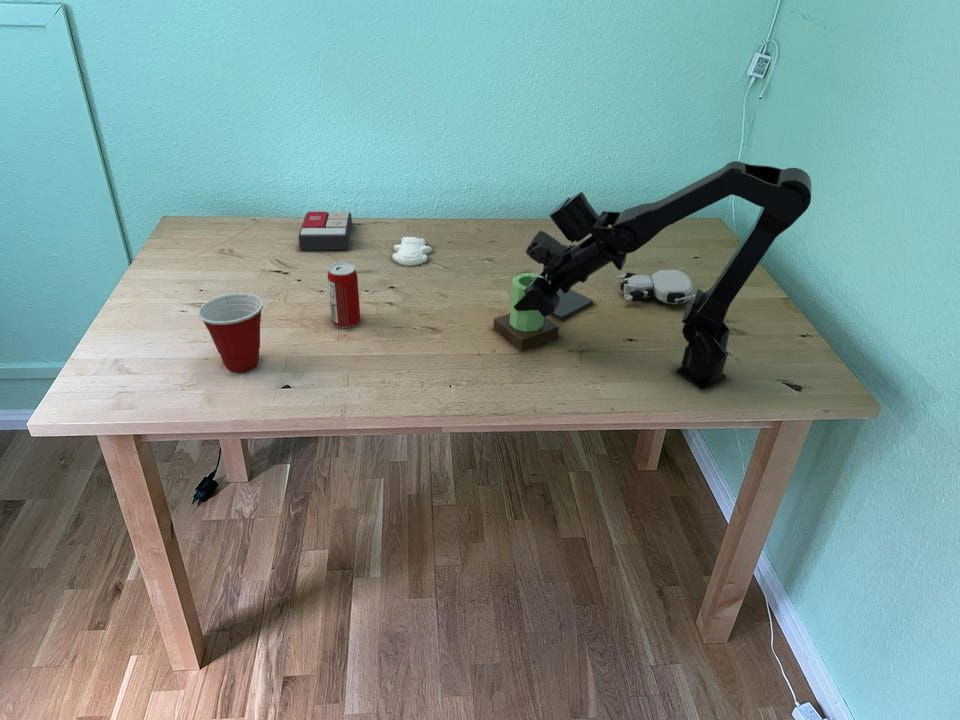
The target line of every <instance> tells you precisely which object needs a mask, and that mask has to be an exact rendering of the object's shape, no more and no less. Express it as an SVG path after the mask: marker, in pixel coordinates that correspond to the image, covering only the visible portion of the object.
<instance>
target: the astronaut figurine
mask: <svg viewBox="0 0 960 720" xmlns="http://www.w3.org/2000/svg"><path fill="white" fill-rule="evenodd" d="M400 239H401V241H400V243H399V244H395V245H393V249H394V253H393V254H392V257H391V258H392V260H393V261H394V262H396V263H398V264H399V265H402V266H407V267H413V266H419V265H421V264H424V263H427V261H428V256H427V255H428V254H430V253H431V252H432V251H433V248H432V247H431V246H430V245H426V239H424V238H423V237H420V238H419V237H415V236H404V237H402V238H400Z"/></svg>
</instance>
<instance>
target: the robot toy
mask: <svg viewBox="0 0 960 720" xmlns="http://www.w3.org/2000/svg"><path fill="white" fill-rule="evenodd" d="M684 270H685V267H681V268H678V269H659V270H658V271H656V272H654V273H653V274H652V276H649V275H644V274H637V273H633V272H626V273H625V272H621V273H619V274H618V276H617V277H618V279H620V280H623V281H622V282H621V284H620V285H619V288H620V291H621V292H622V293H623V294H624V295H623V300H625V301H626V302H638V301H641V300H643V299H644V298H645V299H646V298H650V297H653V296H654V298H656V299H658V301H660V302H662V303H664V304H670V305H678V304H684V303H686V302H688V301H689V300H690V299H694V297H695V294H693V287H694V285H693V281H692V280H691V278H690V277H689V275H687V274H686V273H685V272H683V271H684Z"/></svg>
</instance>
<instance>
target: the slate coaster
mask: <svg viewBox="0 0 960 720" xmlns="http://www.w3.org/2000/svg"><path fill="white" fill-rule="evenodd" d="M557 294H558V296H559V297H560V301H559V305H558V306H557V308H556V310H555V311H554V313H552V314H550V315H549V316H552V317H553V318H555V319H557V320H559V321H561V322H563V321H564V320H566V319H568V318H571V316H574V315H575V314H578V313H579V312H581V311H583V310H585V309H587V308H589V307H591V306H592V305H594V300H593V299H591V298H589V297H587V296H585V295H583V294H581V293H580V292H579V293H578V292H577V291H575V290H573V289H570V290H569V292H567V293H565V294H564V293H563V291H562V290H561V289H559V290H558V292H557Z"/></svg>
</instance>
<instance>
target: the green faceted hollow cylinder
mask: <svg viewBox="0 0 960 720" xmlns="http://www.w3.org/2000/svg"><path fill="white" fill-rule="evenodd" d="M537 277H541V278H544V277H542V276H541V275H540V274H537V273H532V272H526V273H518V274H516V275H515V276H513V277H512V280H511V281H512V283H511V297H510V298H511V299H510V312H509V313H510V325H511V326H512V327H514V328H515V329H517V330H521V331H525V332H528V331H537V330H538V329H540V328H541V327H543V321H544V316H542V314H541V313H540V312H539V311H538V310H528V311H516V309H515V308H514V305H515V304H516V303H517V302H518V301H519V300H520V299H521V298H522V297H523V296H524V295H525V292H524V290H525V288H526V287H527V285H528V284H529V282H530V281H531V280H534V279H535V278H537ZM546 281H547V280H546Z"/></svg>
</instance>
